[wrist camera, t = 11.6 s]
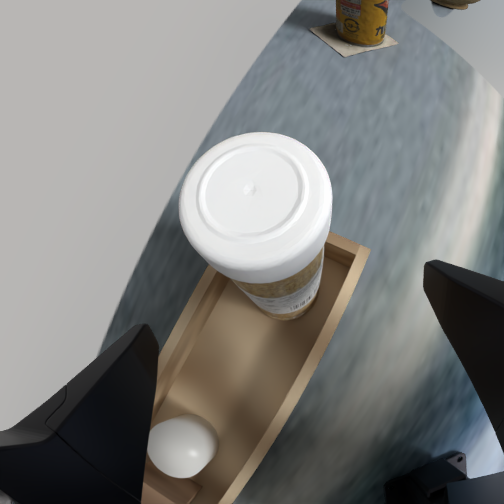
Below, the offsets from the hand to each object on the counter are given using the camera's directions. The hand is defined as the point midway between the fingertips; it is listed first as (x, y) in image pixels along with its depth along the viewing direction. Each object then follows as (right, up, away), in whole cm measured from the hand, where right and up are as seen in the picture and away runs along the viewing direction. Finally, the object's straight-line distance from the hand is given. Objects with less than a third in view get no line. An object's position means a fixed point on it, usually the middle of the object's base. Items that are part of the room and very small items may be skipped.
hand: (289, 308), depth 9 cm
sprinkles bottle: (+1, -1, +12) cm, 12 cm away
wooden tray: (-3, -9, +11) cm, 14 cm away
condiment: (+11, +28, +21) cm, 36 cm away
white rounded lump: (-5, -11, +9) cm, 16 cm away
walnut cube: (-7, -16, +8) cm, 19 cm away
